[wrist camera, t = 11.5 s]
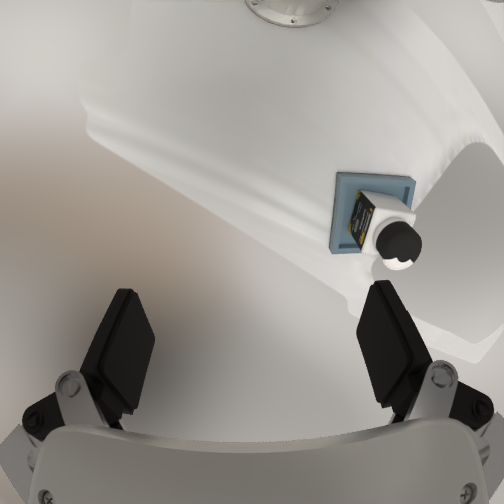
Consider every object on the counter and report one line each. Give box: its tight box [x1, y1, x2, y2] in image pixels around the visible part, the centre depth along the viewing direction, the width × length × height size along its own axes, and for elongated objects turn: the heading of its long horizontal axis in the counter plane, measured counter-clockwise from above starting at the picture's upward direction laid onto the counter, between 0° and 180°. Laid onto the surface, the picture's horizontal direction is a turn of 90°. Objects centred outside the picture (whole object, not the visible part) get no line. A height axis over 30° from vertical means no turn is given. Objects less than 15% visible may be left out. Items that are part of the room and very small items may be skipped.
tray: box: [329, 172, 416, 254], centre depth 40 cm, size 13×13×2 cm
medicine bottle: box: [348, 190, 422, 270], centre depth 35 cm, size 7×7×12 cm
